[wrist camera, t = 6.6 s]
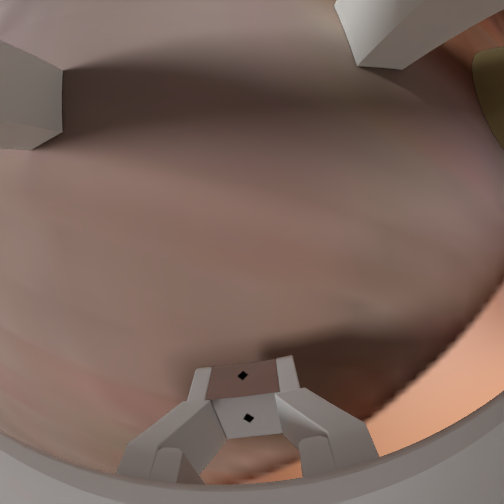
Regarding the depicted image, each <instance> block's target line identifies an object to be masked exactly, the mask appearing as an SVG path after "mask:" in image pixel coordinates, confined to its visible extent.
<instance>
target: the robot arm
mask: <svg viewBox="0 0 504 504" xmlns="http://www.w3.org/2000/svg"><path fill="white" fill-rule="evenodd" d="M278 433H283V435H284V436H285V437H286V438H287V439H288V440H289V441H290V442H291V443H292V444H293V445H294V446H295V447H296V448H297V449H298V450H299V451H300V459H301V468H302V476H303V477H302V478H296V479H290V480H283V481H275V482H266V483H254V484H236V485H206V484H205V483H204V481H203V480H202V479H201V477H200V476H199V474H200V473H201V472H202V471H203V470H204V468H205V467H206V466H207V465H208V464H209V462H210V461H211V460H212V459H213V457H214V456H215V455H216V454H217V452H218V451H219V450H220V449H221V447H222V446H223V445H224V443H225V442H226V441H227V439H230V438H241V437H250V436H259V435H269V434H278ZM0 504H504V391H503V392H501V393H500V394H499V395H497V396H496V397H495V398H493V399H492V400H490V401H489V402H488V403H486V404H485V405H483V406H482V407H480V408H479V409H477V410H476V411H474V412H472V413H471V414H469V415H468V416H466V417H464V418H463V419H461V420H459V421H458V422H456V423H454V424H452V425H451V426H449V427H447V428H445V429H443V430H441V431H439V432H437V433H435V434H433V435H431V436H429V437H427V438H425V439H423V440H421V441H419V442H416V443H414V444H412V445H410V446H407V447H405V448H402V449H400V450H398V451H395V452H393V453H390V454H387V455H384V456H382V457H379V455H378V453H377V450H376V448H375V445H374V443H373V441H372V438H371V436H370V433H369V431H368V429H367V427H366V424H365V422H363V421H361V420H359V419H357V418H356V417H354V416H352V415H350V414H348V413H347V412H345V411H343V410H341V409H340V408H338V407H336V406H335V405H333V404H331V403H330V402H328V401H326V400H325V399H323V398H321V397H320V396H318V395H316V394H315V393H313V392H312V391H310V390H308V389H307V388H300V385H299V380H298V376H297V372H296V368H295V363H294V359H293V356H292V355H289V356H284V357H280V358H276V359H271V360H265V361H259V362H253V363H246V364H234V365H224V366H213V367H201V368H197V369H196V370H195V374H194V377H193V381H192V385H191V388H190V392H189V395H188V399H187V401H182V402H181V403H180V404H179V405H177V406H176V407H175V408H174V409H172V410H171V411H170V412H169V413H167V414H166V415H165V416H163V417H162V418H161V419H160V420H158V421H157V422H156V423H154V424H153V425H152V426H150V427H149V428H148V429H146V430H145V431H144V432H142V433H141V434H140V435H138V436H137V437H136V438H134V439H133V440H131V441H130V442H129V443H128V445H127V447H126V450H125V452H124V455H123V457H122V460H121V462H120V465H119V467H118V469H117V472H116V474H114V473H110V472H106V471H102V470H98V469H94V468H91V467H87V466H84V465H81V464H77V463H74V462H71V461H68V460H66V459H63V458H60V457H57V456H55V455H52V454H49V453H47V452H44V451H42V450H40V449H37V448H35V447H33V446H31V445H28V444H26V443H24V442H22V441H20V440H18V439H16V438H14V437H12V436H10V435H8V434H6V433H5V432H3V431H1V430H0Z"/></svg>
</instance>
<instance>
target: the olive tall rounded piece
mask: <svg viewBox="0 0 504 504" xmlns="http://www.w3.org/2000/svg"><path fill="white" fill-rule="evenodd" d="M472 72H473V81H474V85H475V89H476V94H477V97H478V100H479V103H480V105H481V108H482V111H483V114H484V116H485V118H486V120H487V122H488V124H489V127H490V129H491V131H492V133H493V135H494V136H495V138H496V139H497V141H498V142H499V144H500V145H501V147H502V148H503V149H504V46H503V47H498V48H493V49H488V50H483V51H480V52H479V53H477V54H475V56H474V59H473V62H472Z"/></svg>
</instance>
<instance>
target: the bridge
mask: <svg viewBox="0 0 504 504" xmlns="http://www.w3.org/2000/svg"><path fill="white" fill-rule="evenodd" d="M334 7H335V9H336V11H337V14H338V16H339V18H340V21H341V23H342V26H343V28H344V31H345V33H346V36H347V39H348V41H349V44H350V47H351V50H352V53H353V56H354V59H355V62H356V65H357V66H365V67H379V68H390V69H399V70H403V69H404V68H406V67H407V66H409V65H410V64H412V63H413V62H415V61H416V60H418V59H419V58H421V57H422V56H424V55H426V54H427V53H429V52H430V51H432V50H433V49H435V48H437V47H438V46H440V45H441V44H443V43H445V42H446V41H448V40H449V39H451V38H453V37H454V36H456V35H458V34H459V33H461V32H463V31H465V30H466V29H468V28H470V27H472V26H473V25H475V24H477V23H479V22H480V21H482V20H484V19H486V18H488V17H490V16H492V15H493V14H495V13H497V12H499V11H501V10H503V9H504V0H337V1H336V3H335V5H334ZM62 76H63V70H61V69H60V68H58V67H56V66H54V65H52V64H50V63H48V62H46V61H44V60H42V59H40V58H38V57H36V56H33V55H31V54H29V53H27V52H25V51H23V50H21V49H18V48H16V47H14V46H12V45H10V44H7V43H5V42H3V41H0V149H16V150H30V151H31V150H32V149H34V148H36V147H37V146H39V145H41V144H42V143H44V142H46V141H48V140H49V139H51V138H53V137H55V136H57V135H58V134H60V133H62V132H63V130H62Z"/></svg>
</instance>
